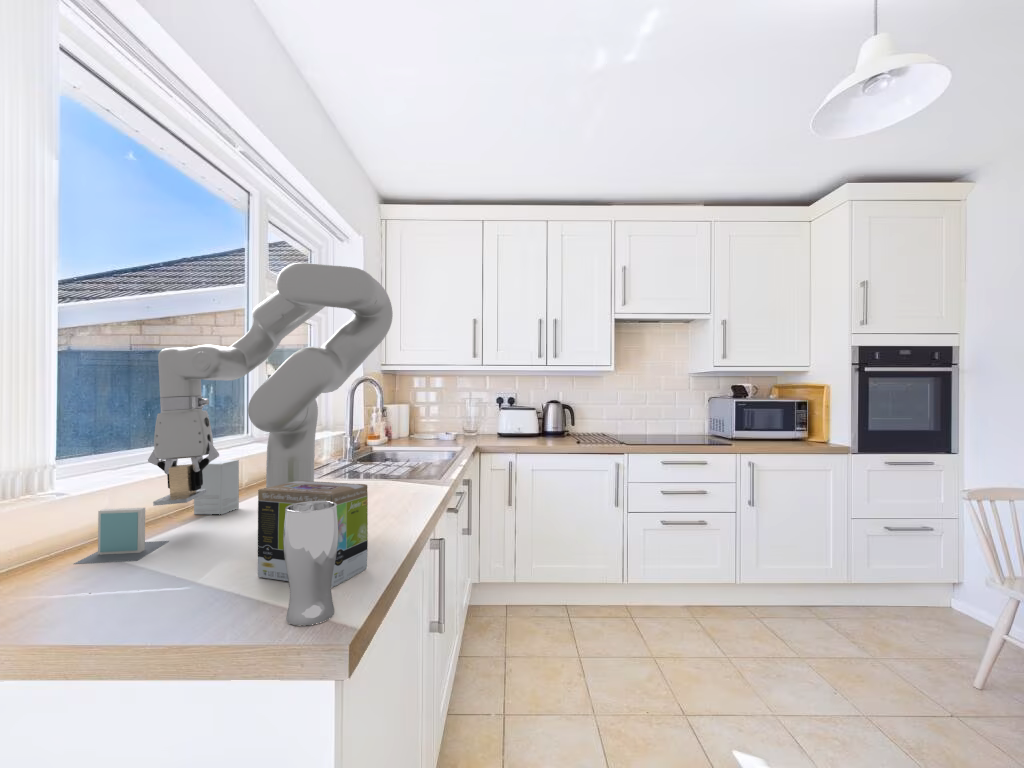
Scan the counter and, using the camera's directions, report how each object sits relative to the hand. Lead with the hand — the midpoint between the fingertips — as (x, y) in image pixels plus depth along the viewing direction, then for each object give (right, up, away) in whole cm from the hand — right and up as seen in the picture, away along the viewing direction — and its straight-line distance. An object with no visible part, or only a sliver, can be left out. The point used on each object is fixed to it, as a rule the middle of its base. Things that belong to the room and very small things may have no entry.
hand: (185, 489), depth 109 cm
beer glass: (+43, -9, -40) cm, 59 cm away
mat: (-2, -9, -14) cm, 17 cm away
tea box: (+37, -9, -24) cm, 45 cm away
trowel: (0, -1, -1) cm, 2 cm away
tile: (-3, -9, -14) cm, 17 cm away
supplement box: (-4, -10, +19) cm, 21 cm away
